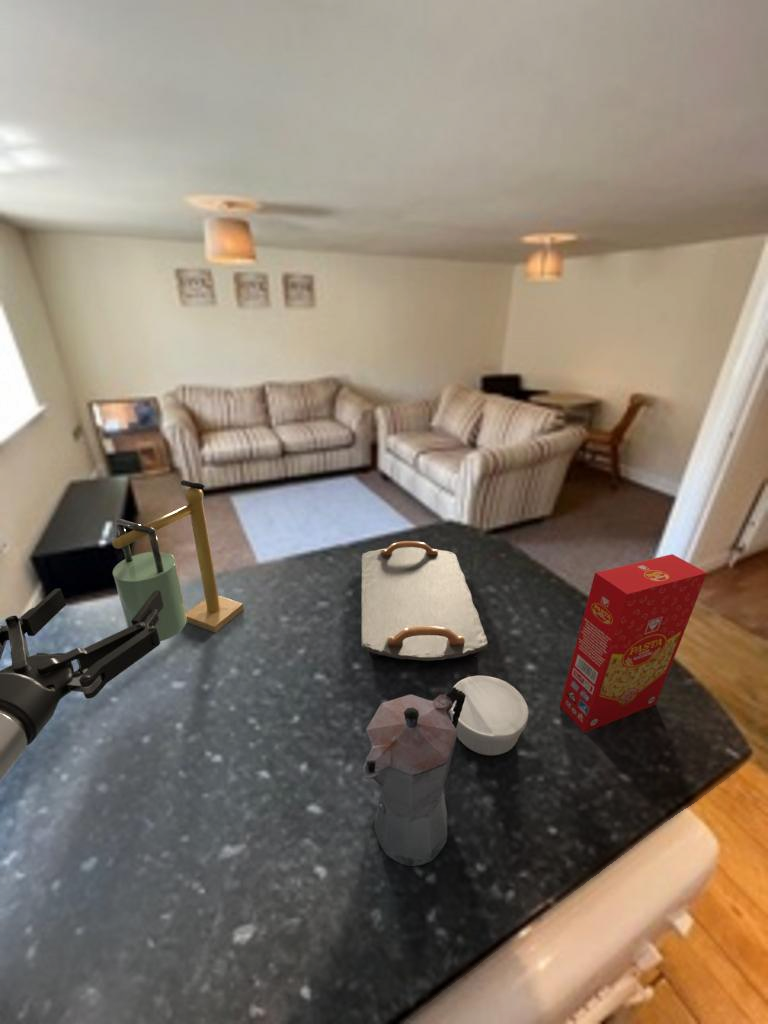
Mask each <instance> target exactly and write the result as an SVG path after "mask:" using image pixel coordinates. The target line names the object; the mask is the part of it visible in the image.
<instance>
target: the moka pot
mask: <svg viewBox="0 0 768 1024" xmlns="http://www.w3.org/2000/svg"><path fill="white" fill-rule="evenodd" d="M465 697H466V695H465V694H464V693H463V692H462V691H459V689H458V690H457V689H456V688H455V687H454V686H453V687H451V688H450V689H449V691H447V693H446V694H441V693H440V694H439V695H438V696H437V697H436V698H434V699H433V700H430V699H427V698H424V697H421V696H418V695H414V694H408V695H407V694H406V695H404V696H401V697H398V698H395V699H391V700H388V701H385V702H382V703H381V704H379V707H378V708H377V710H376V712H375V713H374V715H373V717H372V719H371V720H370V722H369V724H368V725H367V727H366V730H365V735H366V739H367V745H368V748H369V753H368V755H367V757H366V759H365V761H364V764H363V766H362V776H363V778H364V779H366V780H371V779H372V780H373V781H374V782H375V783H376V784H377V785H378V786H379V794H378V795H379V796H378V802H377V809H376V815H375V823H374V833H375V836H376V838H377V841H378V843H379V845H380V847H381V848H382V850H383V852H384V854H385V855H386V856H387V857H389V858H390V859H392V860H393V861H395V862H397V863H398V864H401V865H404V866H408V867H416V866H421V865H425V864H429V863H431V862H432V861H433V860H434V859H435V858H437V856H438V855H439V854H440V852H441V851H442V850H443V848H444V847H445V846H446V843H447V841H448V811H447V806H446V805H447V804H446V798H445V793H444V786H445V783H446V780H447V777H448V773H449V769H450V765H451V761H452V756H453V752H454V749H455V745H456V742H457V738H458V737H457V734H458V733H457V731H456V727H457V724H458V719H459V717H460V713H461V711H462V707H463V704H464V701H465ZM455 701H456V703H455V707H454V708H453V712H454V714H453V721H452V720H451V717H449V714H448V712H450V711H449V710H450V709H451V708H452V707H453V704H454V702H455Z"/></svg>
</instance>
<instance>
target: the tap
mask: <svg viewBox="0 0 768 1024" xmlns="http://www.w3.org/2000/svg"><path fill="white" fill-rule="evenodd" d="M180 485H182V486H183V487H187V488H188V489H187V490H186V491H185V493H184V497H185V498H184V499H185V500H186V501H187V504H186V505H184V506H182V507H180V508H177V509H175V510H174V511H172V512H169V513H167V514H165V515H163V516H160V517H159V518H158V517H157V518H156V519H154V520H152V521H150V522H148V523H145V524H144V525H143V526H147V527H150V528H153V529H155V532H157V531H159V530H160V529H163V528H164V527H166V526H169V525H171V524H172V523H173V524H174V523H175V522H177V521H179V520H181V519H182V518H185V517H187V516H190V522H191V528H192V533H193V538H194V543H195V549H196V550H195V551H196V554H197V555H196V556H197V560H198V565H199V571H200V577H201V578H200V579H201V583H202V588H203V589H202V590H203V594H204V599H203V600H202V601H200V602H198V604H196V605H195V606H193V607H192V608H191V609H189V610H188V611H186V616H187V622H186V623H188V622H190V623H189V624H191V623H192V625H194V624H195V625H194V626H196V625H197V627H200V628H202V629H204V630H206V631H209V632H212V633H215V634H216V633H217V632H219V631H220V630H221V629H222V628H224V627H225V626H226V625H227V624H228V623H229V622H231V621H232V620H233V619H234V618H235V617H237V616H238V615H239V614H240V613H242V612H243V611H244V610H245V609H244V608H245V607H244V603H242V602H240V601H237V600H234V599H231V598H228V597H225V596H221V595H219V593H218V588H217V580H216V574H215V568H214V562H213V555H212V550H211V544H210V543H211V542H210V537H209V532H208V526H207V525H208V524H207V519H206V518H207V517H206V513H205V507H204V501H203V500H204V491H203V490H205V485H204V484H203V483H199V482H194V481H190V480H187V479H182V480H181V481H180ZM146 536H149V534H147V533H143V532H140V531H137V530H133V529H132V530H130V531H129V532H126V534H124V535H122V536H120V537H119V536H118V537H115V538H114V539H113V540H112V543H111V545H112V546H113V548H114V549H123V548H122V547H124V546H126V545H128V544H129V545H130V544H132V543H134V542H136V541H138V540H140V539H142V538H144V537H146Z"/></svg>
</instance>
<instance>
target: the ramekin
mask: <svg viewBox="0 0 768 1024" xmlns="http://www.w3.org/2000/svg"><path fill="white" fill-rule="evenodd" d="M453 687H455V688H456V689H457V690H458V689H459V691H462V692H463V693H464V694H465V695H466V697H465V701H464V704H463V707H462V711H461V713H460V717H459V719H458V724H457V727H456V731H457V733H458V734H457V738H458V740H459V742H461V744H463V745H464V746H465V747H466V748H468V749H469V750H471V751H473V752H474V753H477V754H479V755H483V756H498V755H502V754H505V753H507V752H509V751H510V750H512V749H513V748H514V747H515V745H516V744H517V742H518V740H519V738H520V736H521V735H522V732H523V731H524V730H525V729H526V727H527V724H528V721H529V707H528V704H527V702H526V699H525V698H524V697H523V695H522V694H521V693H520V692H519V691H518V690H517V688H515V687H514V686H513V685H512V684H510V683H509V682H507V681H505V680H502V679H501V678H498V677H493V676H489V675H473V676H468V677H465V678H463V679H461V680H459V681H457V682H456V684H454V686H453ZM455 703H456V701H455V702H454V704H453V707H452V708H451V709H450V710H449V711H448V712H449V714H450V720H451V721H453V714H454V712H453V708H454V707H455Z"/></svg>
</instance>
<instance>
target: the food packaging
mask: <svg viewBox="0 0 768 1024" xmlns="http://www.w3.org/2000/svg"><path fill="white" fill-rule="evenodd" d="M707 574H708V572H707V571H705V570H703V569H702V568H700V567H698V566H696V565H694V564H692V563H690V562H688V561H687V560H685V559H682V558H680V557H679V556H677V555H675V554H672V553H671V554H666V555H662V556H658V557H654V558H649V559H646V560H642V561H638V562H633V563H629V564H623V565H621V566H617V567H612V568H608V569H603V570H599V571H595V572H594V575H593V578H592V582H591V587H590V590H589V594H588V598H587V602H586V605H585V609H584V612H583V616H582V621H581V624H580V627H579V632H578V636H577V639H576V643H575V647H574V651H573V655H572V657H571V658H572V659H571V661H570V666H569V670H568V674H567V678H566V681H565V685H564V688H563V693H562V695H561V699H560V703H559V707H560V708H561V709H562V710H563V711H564V712H565V714H567V716H569V718H570V719H571V720H572V721H573V722H574V723H575V725H577V726H578V727H579V729H580V730H581V731H582V732H583V733H586V734H587V733H589V732H591V731H593V730H596V729H598V728H601V727H603V726H606V725H608V724H611V723H613V722H615V721H619V720H620V719H623V718H625V717H629V716H631V715H633V713H634V714H636V713H639V712H641V711H644V710H646V709H648V707H649V708H651V707H653V705H654V706H656V705H657V702H658V701H659V697H660V695H661V693H662V691H663V688H664V685H665V682H666V680H667V678H668V675H669V672H670V669H671V668H672V665H673V662H674V659H675V657H676V655H677V652H678V649H679V646H680V644H681V642H682V639H683V636H684V633H685V632H686V629H687V626H688V623H689V621H690V619H691V616H692V614H693V611H694V609H695V605H696V603H697V601H698V598H699V596H700V593H701V590H702V588H703V585H704V582H705V580H706V577H707ZM655 704H656V705H655ZM643 709H644V710H643ZM640 710H641V711H640ZM638 711H639V712H638ZM635 712H636V713H635Z"/></svg>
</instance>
